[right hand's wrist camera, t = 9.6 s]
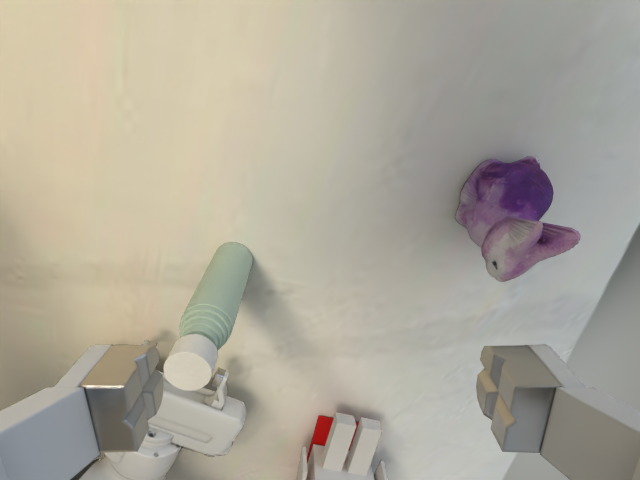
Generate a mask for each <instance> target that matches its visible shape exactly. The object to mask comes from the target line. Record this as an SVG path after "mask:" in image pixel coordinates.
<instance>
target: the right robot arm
mask: <svg viewBox="0 0 640 480" xmlns="http://www.w3.org/2000/svg"><path fill="white" fill-rule="evenodd" d="M159 361H160V358H159V354H158V349H157V348H156V347H155V346H152V345H93V346H90V347H89V348H88V349H87V350H86V351H85V352H84V354H83V355H82V356H81V357H80V358H79V359H78V360H77V361H76V363H75V364H74V365H73V366H72V367H71V368H70V369H69V370H68V372H67V373H66V374H65V375H64V376H63V377H62V378H61V379H60V381H59V382H58V383H57V384H56V385H55V386H54V387H47V388H45V389H43V390H41V391H39V392H37V393H35V394H33V395H31V396H29V397H27V398H25V399H23V400H21V401H19V402H17V403H15V404H13V405H11V406H9V407H7V408H5V409H3V410H1V411H0V480H71V479H72V478H73V477H74V476H75V475H76V474H78V473H79V472H80V471H81V470H82V469H84V468H85V467H86V466H87V465H88V464H90V463H91V462H92V461H93V460H94V459H95V458H97V457H98V456H99V455H100V453H107V452H138V450H139V448H140V446H141V444H142V442H143V440H144V438H145V436H146V434H147V432H148V430H149V425H148V420H149V419H150V418H152V417H153V416H155V415H156V414H157V412H158V410H159V407H160V405H161V401H162V397H163V377H162V374H161V373H160V372H159V371H158V370H157V369H156V366H157V364H158V362H159ZM480 361H481V362H482V364H483V366H484V369H483V370H482V371H481V372H480V373H479V374H478V377H477V385H476V388H477V398H478V402H479V405H480V408H481V410H482V412H483V414H484V415H485V416H487V417H488V418H490V419H491V420H492V425H491V430H492V432H493V434H494V436H495V438H496V440H497V442H498V444H499V446H500V448H501V450H502V452H533V453H540V455H541V456H542V457H544V458H545V459H546V460H547V461H548V462H549V463H551V464H552V465H553V466H554V467H555V468H557V469H558V470H559V471H560V472H561V473H563V474H564V475H565V476H566V477H567V478H568V479H570V480H640V411H639V410H637V409H635V408H633V407H631V406H629V405H627V404H625V403H623V402H621V401H619V400H617V399H615V398H613V397H611V396H609V395H607V394H605V393H603V392H601V391H599V390H597V389H595V388H593V387H586V386H585V385H584V384H583V383H582V382H581V381H580V379H579V378H578V377H577V376H576V375H575V374H574V373H573V372H572V370H571V369H570V368H569V367H568V366H567V365H566V364H565V363H564V361H563V360H562V359H561V358H560V357H559V356H558V355H557V354H556V352H555V351H554V350H553V349H552V348H551V347H550V346H548V345H546V344H541V345H523V346H484V348H483V350H482V353H481V358H480Z"/></svg>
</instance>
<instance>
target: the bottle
mask: <svg viewBox="0 0 640 480" xmlns="http://www.w3.org/2000/svg"><path fill="white" fill-rule="evenodd" d="M252 263H253V258H252V255H251V253H250V251H249V250H248V249H247V248H246V247H245V246H243V245H242V244H239V243H234V242H230V243H226V244H223V245H222V246H220V247H219V248H218V249H217V251H216V253H215V255H214V257H213V259H212V260H211V262H210V264H209V266H208V268H207V270H206V272H205V274H204V276H203V278H202V279H201V281H200V283H199V285H198V287H197V289H196V291H195V293H194V295H193V297H192V298H191V300H190V302H189V304H188V306H187V308H186V310H185V312H184V314H183V315H182V318H181V323H180V338H181V337H183V336H185V335H189V334H197V335H202V336H204V337H206V338H208V339H210V340H211V341H212V342H213V343H214V345H215V346H216V348H217V351H218V350H219V349H220V348H221V347H222V346H223V345H224V344H225V343H226V342H227V340H228V338H229V337H230V335H231V332H232V329H233V326H234V323H235V319H236V316H237V313H238V310H239V306H240V303H241V300H242V296H243V293H244V290H245V287H246V283H247V280H248V277H249V274H250V270H251V267H252Z"/></svg>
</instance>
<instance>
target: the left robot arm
mask: <svg viewBox="0 0 640 480" xmlns="http://www.w3.org/2000/svg"><path fill="white" fill-rule="evenodd" d="M142 345H152V346H155V347H156V345H157V344H156V343H154V342H151V341H148V340H145V341H144V343H143V344H142ZM159 372H160V373H161V374H162V377H163V397H162V401H161V405H160V407H159V410H158V412H157V414H156V415H155V416H153V417H152V418H150V419H149V420H148V425H149V430H148V432H147V434H146V436H145V438H144V440H143V442H142V444H141V446H140V448H139V450H138V452H107V453H104V454H105V455H106V456H105V457H104V458H103V459H102V460H99V459H97V460H93V461H92V462H91V463H90V464H88V465H87V466H86V467H85V468H84V469H82V470H81V471H80V472H79V473H78V474H76V475H75V476H74V477H73V478H72V479H71V480H164V479H165V474H166V473H167V472H168V471H169V469H170V468H171V466H172V465H173V463H174V461H175V459H176V457H177V455H178V453H179V451H180V449H181V448H185V449H188V450H191V451H194V452H199V453H202V454H204V455H206V456H209V457H214V455H217V456H220V455H226V454H227V453H228V451H229V450H230V448H231V446H232V445H233V441H234V439H235V438H236V437H237V435H238V434H239V433H240V431H241V429H242V428H243V425H244V422H245V417H246V407H245V404H244V403H243V402H242V401H239V400H237V399H234V398H231V397H228V396H227V392H228V391H227V386H226V381H227V378H228V375H229V371H227V370H224V369H221V368H219V367H218V369H217V372H216V373H215V375H214V378H213V381H212V384H211V386H213V387H216V388H217V390H216V392H215V391H212V390H209V389H207V388H204V387H203V388H201V389H198V390H192V391H188V390H182V389H179V388H177V387H175V386H173V385H172V384H171V383H169V382H168V380H167V379H166V377H165V375H164V373H163V372H161V371H159Z"/></svg>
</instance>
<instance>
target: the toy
mask: <svg viewBox="0 0 640 480" xmlns="http://www.w3.org/2000/svg"><path fill="white" fill-rule="evenodd" d="M381 433H382V429H381V426H380V422H379V421H377V420H372V419H367V418H362V417H361V418H360V421H359V423H357V422H355V417H354V416H353V415H348V414H343V413H338V412H336V413H335V416H334V418H329V417H324V416H318V420H317V424H316V427H315V431H314V435H313V438H312V442H311V445H310V449H309V453H308V456H307V454H306V447H303V446H302V452H301V457H300V463H299V469H298V474H297V480H388V477H387V472H386V467H385V463H384V461H380V463H379V465H378V467H377V469H376V471H375V473H374V475H373V472H372V467H371V461H372V459H373V456H374V453H375V450H376V447H377V444H378V442H379V439H380V436H381Z"/></svg>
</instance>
